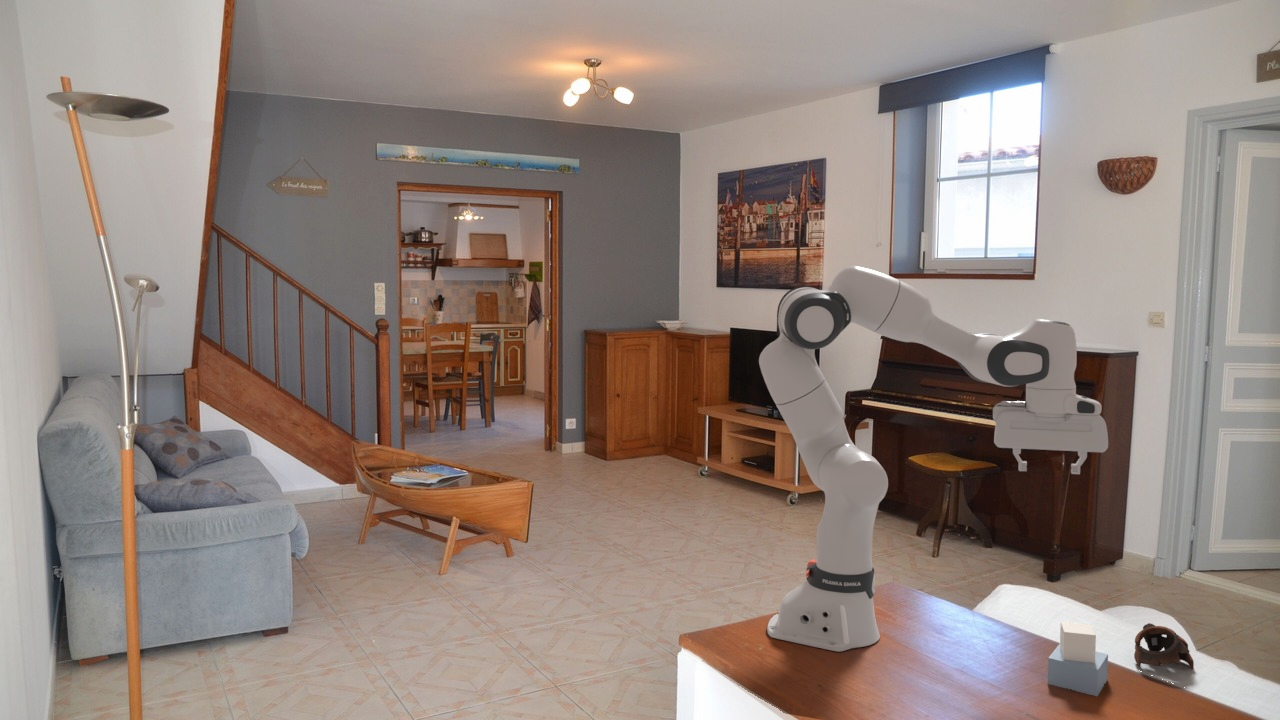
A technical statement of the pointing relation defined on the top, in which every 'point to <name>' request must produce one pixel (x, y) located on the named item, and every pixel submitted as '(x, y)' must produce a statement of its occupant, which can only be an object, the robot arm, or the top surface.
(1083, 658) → the cream cube
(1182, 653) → the brown hollow ring shell
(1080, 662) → the slate block
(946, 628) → the top surface
